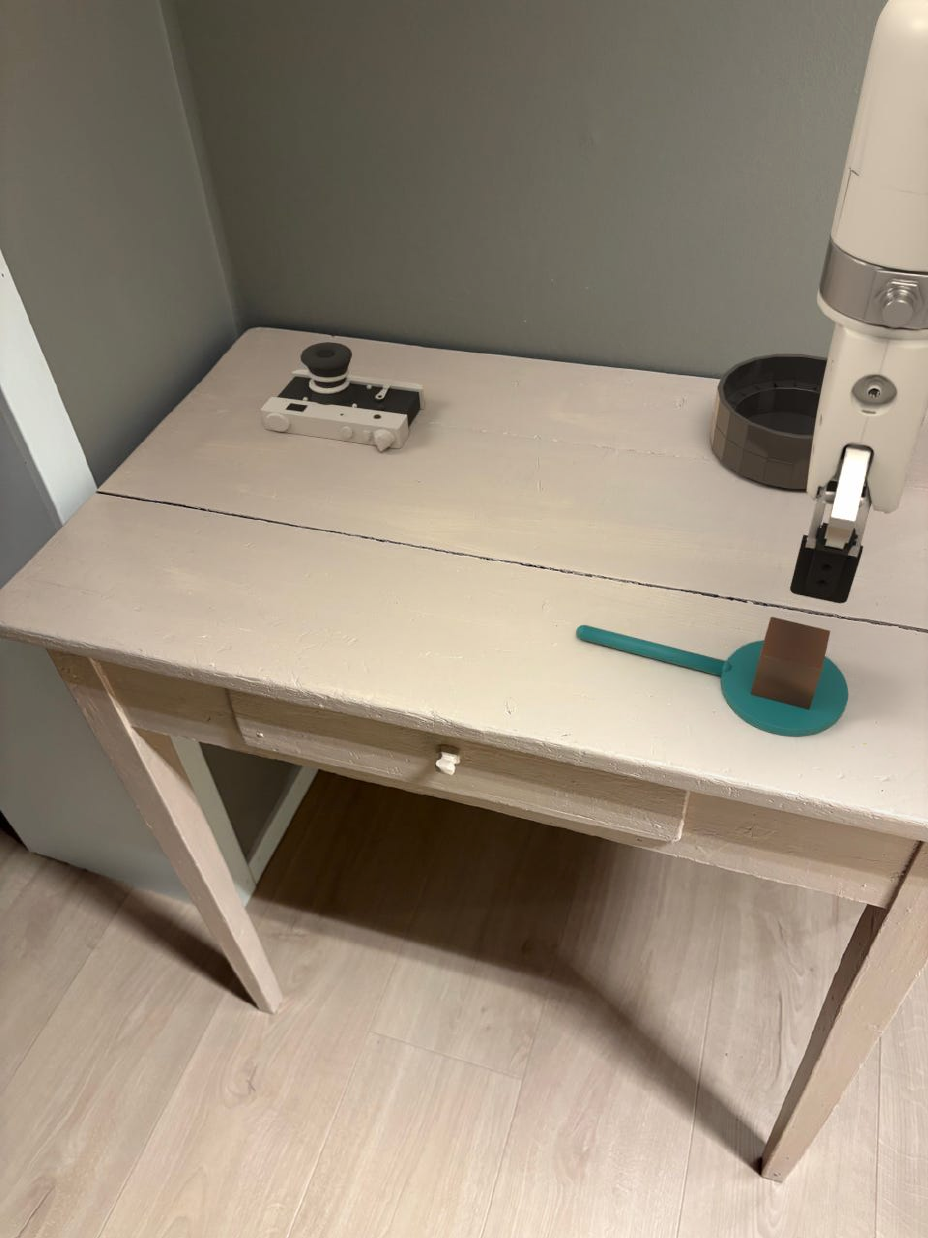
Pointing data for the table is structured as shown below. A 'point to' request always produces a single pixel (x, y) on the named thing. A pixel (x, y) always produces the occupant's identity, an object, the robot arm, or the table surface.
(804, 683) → the block
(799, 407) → the shallow round bowl
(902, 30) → the robot arm
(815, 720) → the teal lollipop paddle
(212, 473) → the table surface
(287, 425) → the camera
